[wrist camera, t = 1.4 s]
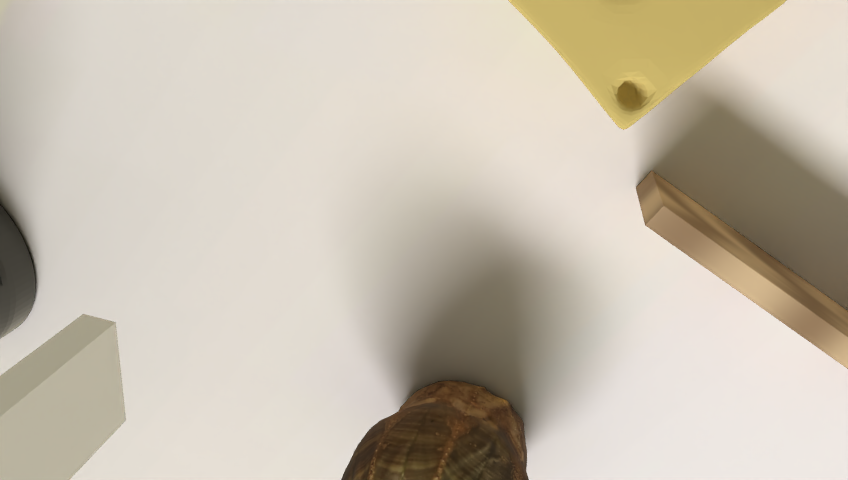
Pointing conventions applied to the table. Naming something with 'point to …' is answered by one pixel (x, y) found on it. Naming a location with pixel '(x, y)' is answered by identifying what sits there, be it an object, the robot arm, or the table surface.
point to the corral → (744, 266)
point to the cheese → (640, 43)
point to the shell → (444, 438)
